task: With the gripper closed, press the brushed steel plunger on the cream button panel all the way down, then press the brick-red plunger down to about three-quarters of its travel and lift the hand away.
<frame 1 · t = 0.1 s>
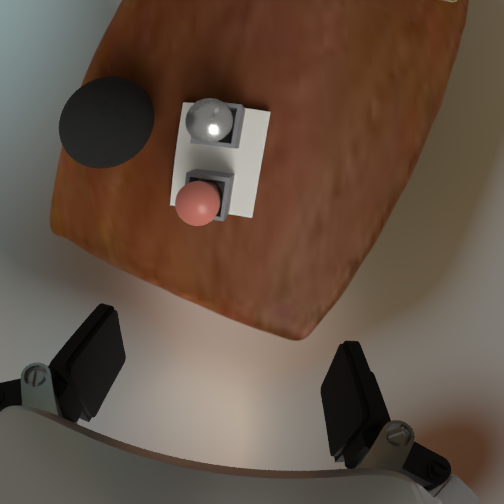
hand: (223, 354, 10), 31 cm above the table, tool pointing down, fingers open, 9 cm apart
decorative egg: (133, 124, 35), on the table
red plunger: (202, 198, 31), point 8 cm above the table, slide at 0.0 cm
button panel: (219, 157, 37), on the table
steel plunger: (213, 122, 28), point 8 cm above the table, slide at 0.0 cm
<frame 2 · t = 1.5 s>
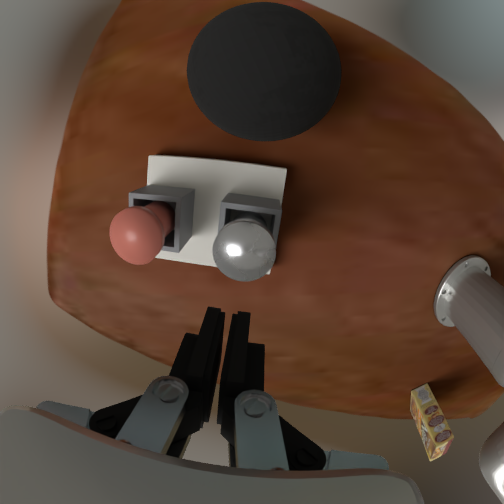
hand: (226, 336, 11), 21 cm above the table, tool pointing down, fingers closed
decorative egg: (264, 90, 26), on the table
red plunger: (148, 226, 23), point 8 cm above the table, slide at 0.0 cm
candy box: (418, 396, 43), on the table
button panel: (212, 210, 31), on the table
steel plunger: (246, 239, 23), point 8 cm above the table, slide at 0.0 cm
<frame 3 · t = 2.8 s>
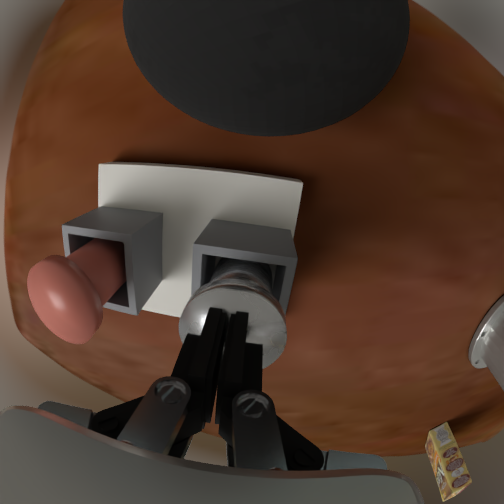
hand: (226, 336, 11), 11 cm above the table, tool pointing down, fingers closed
decorative egg: (267, 63, 16), on the table
red plunger: (86, 280, 14), point 8 cm above the table, slide at 0.0 cm
candy box: (435, 433, 33), on the table
button panel: (192, 242, 21), on the table
steel plunger: (238, 301, 14), point 8 cm above the table, slide at 0.8 cm, touching gripper
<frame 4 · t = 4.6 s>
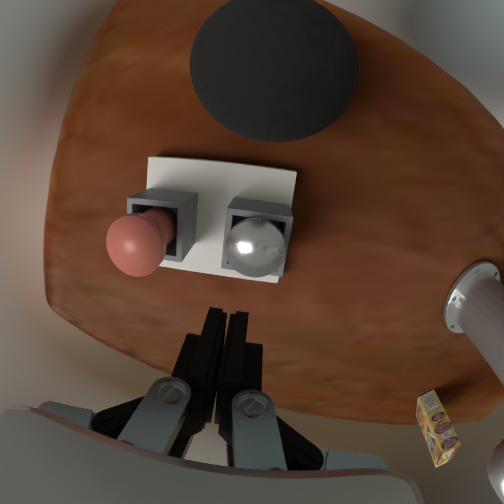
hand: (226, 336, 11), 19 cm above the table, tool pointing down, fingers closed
decorative egg: (272, 87, 24), on the table
red plunger: (147, 234, 22), point 8 cm above the table, slide at 0.0 cm
candy box: (424, 402, 41), on the table
button panel: (216, 216, 29), on the table
steel plunger: (256, 237, 24), point 5 cm above the table, slide at 2.8 cm
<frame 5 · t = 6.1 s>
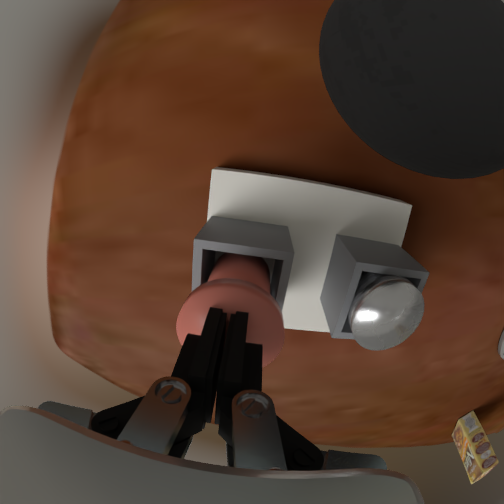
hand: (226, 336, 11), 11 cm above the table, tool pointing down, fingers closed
decorative egg: (378, 90, 17), on the table
red plunger: (236, 301, 14), point 8 cm above the table, slide at 0.1 cm, touching gripper
candy box: (461, 422, 34), on the table
button panel: (302, 254, 22), on the table
steel plunger: (374, 294, 17), point 5 cm above the table, slide at 2.8 cm
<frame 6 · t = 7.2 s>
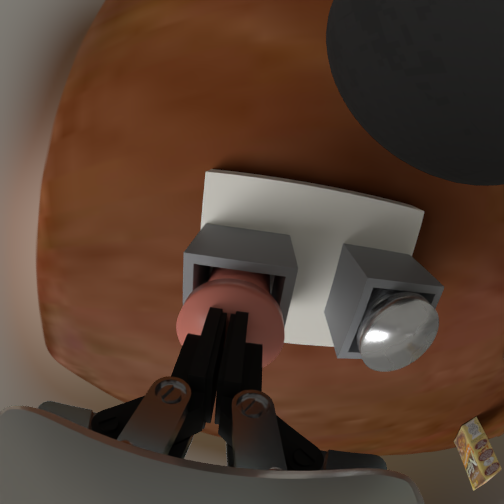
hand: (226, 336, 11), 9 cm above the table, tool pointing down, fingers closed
decorative egg: (388, 85, 15), on the table
red plunger: (236, 301, 14), point 6 cm above the table, slide at 2.1 cm, touching gripper
candy box: (464, 428, 32), on the table
button panel: (305, 264, 20), on the table
steel plunger: (384, 309, 15), point 5 cm above the table, slide at 2.8 cm
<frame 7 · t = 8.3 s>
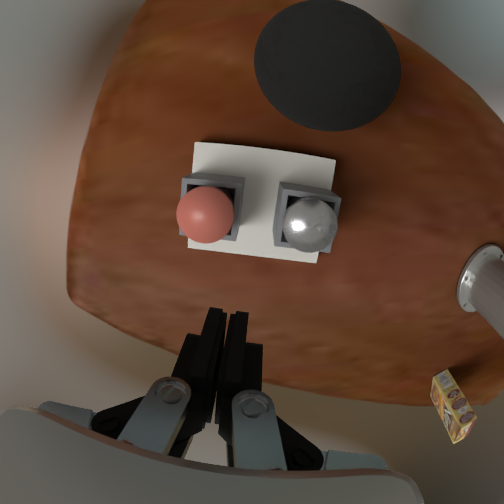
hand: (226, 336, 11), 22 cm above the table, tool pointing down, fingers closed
decorative egg: (310, 83, 26), on the table
red plunger: (210, 208, 25), point 6 cm above the table, slide at 2.1 cm
candy box: (438, 382, 44), on the table
button panel: (259, 200, 31), on the table
steel plunger: (305, 217, 26), point 5 cm above the table, slide at 2.8 cm
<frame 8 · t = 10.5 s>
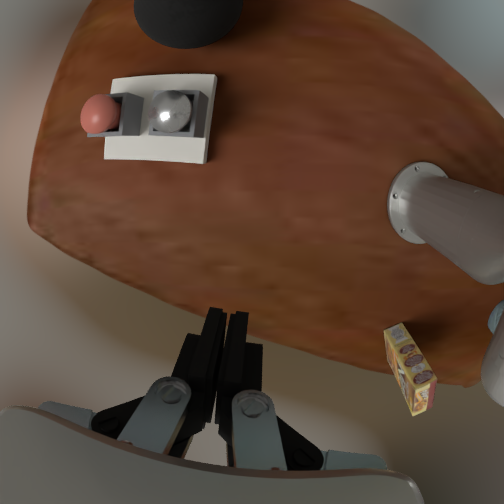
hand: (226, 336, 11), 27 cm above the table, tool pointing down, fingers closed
decorative egg: (202, 26, 27), on the table
red plunger: (109, 115, 27), point 6 cm above the table, slide at 2.1 cm
drinking glass: (498, 313, 42), on the table
candy box: (394, 340, 45), on the table
button panel: (159, 117, 32), on the table
steel plunger: (177, 113, 27), point 5 cm above the table, slide at 2.8 cm
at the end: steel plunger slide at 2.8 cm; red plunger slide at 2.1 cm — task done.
